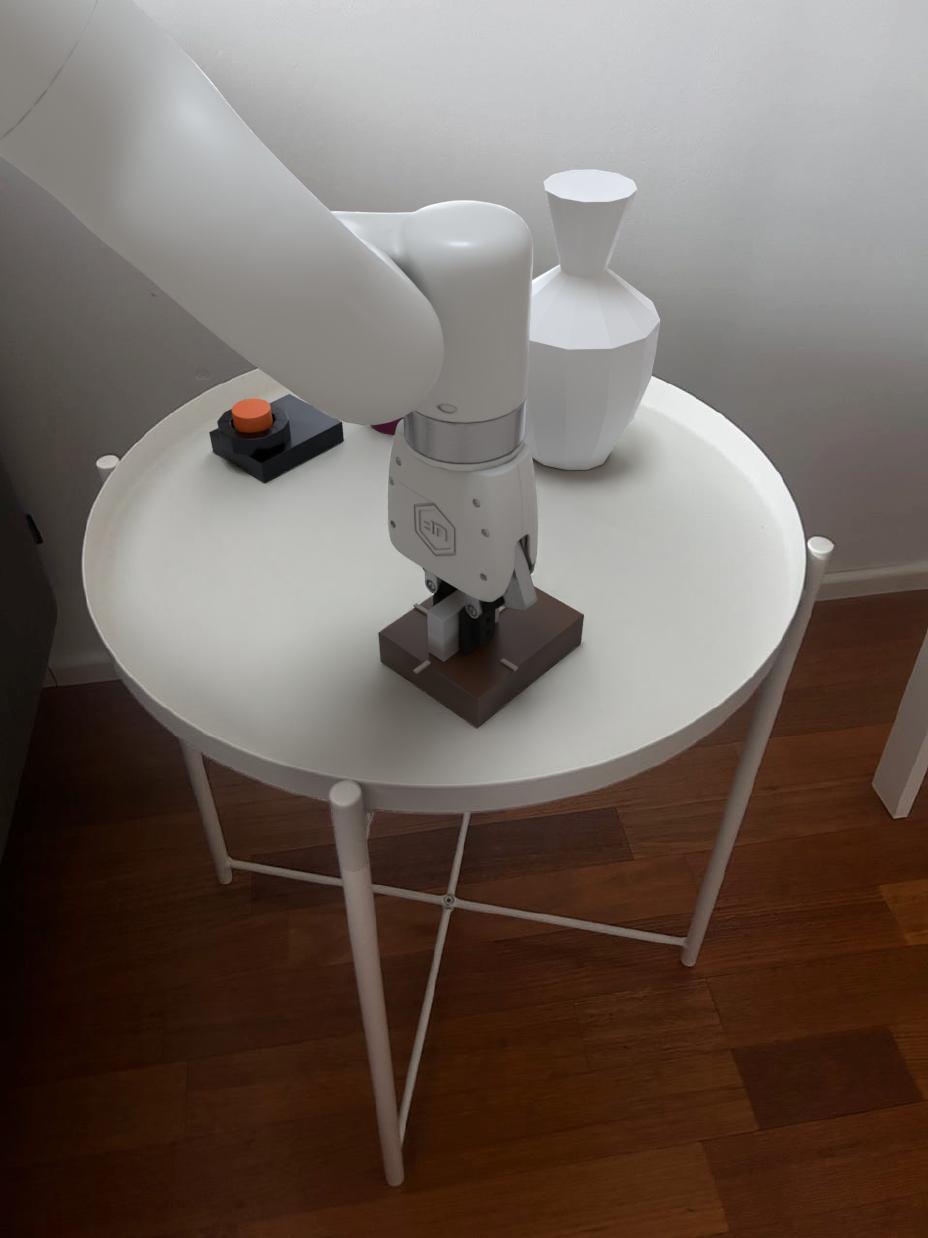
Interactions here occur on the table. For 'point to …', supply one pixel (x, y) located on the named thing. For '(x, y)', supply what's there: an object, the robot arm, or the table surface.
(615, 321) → the vase
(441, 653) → the grey rectangular block
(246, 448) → the button box
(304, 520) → the table surface
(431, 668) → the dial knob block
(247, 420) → the button
